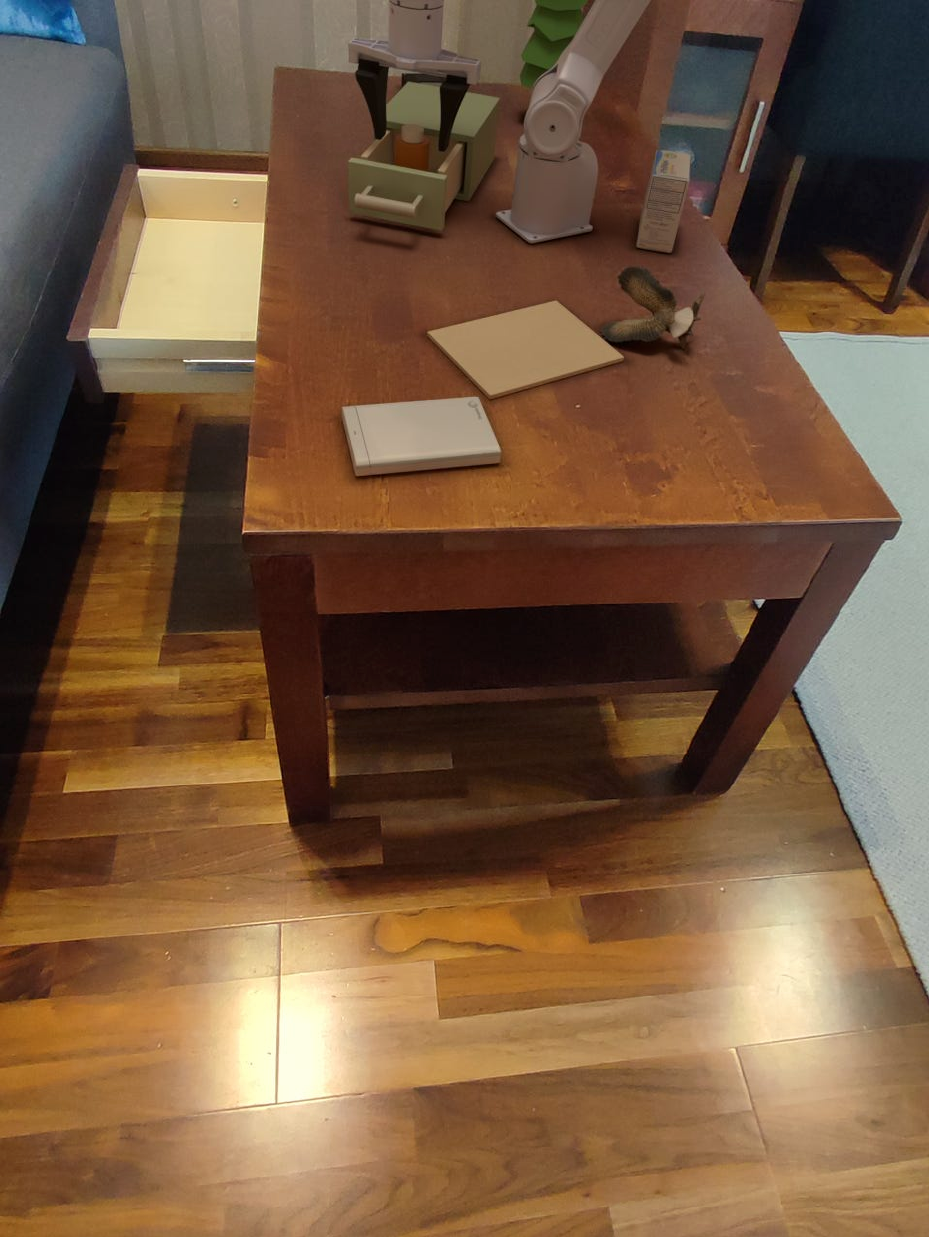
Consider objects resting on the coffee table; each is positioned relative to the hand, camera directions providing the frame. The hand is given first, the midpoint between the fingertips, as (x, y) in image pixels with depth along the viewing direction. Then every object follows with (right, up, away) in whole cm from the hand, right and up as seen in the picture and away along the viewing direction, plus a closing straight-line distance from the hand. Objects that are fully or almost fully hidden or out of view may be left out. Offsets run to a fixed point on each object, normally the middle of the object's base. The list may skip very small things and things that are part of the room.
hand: (411, 142), depth 97 cm
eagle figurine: (+25, -26, -10) cm, 38 cm away
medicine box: (+30, -9, +6) cm, 31 cm away
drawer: (-1, -6, +4) cm, 7 cm away
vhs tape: (+2, +22, +30) cm, 37 cm away
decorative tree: (+18, +20, +29) cm, 39 cm away
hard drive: (+2, -40, -24) cm, 47 cm away
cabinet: (+2, +4, +13) cm, 14 cm away
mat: (+12, -28, -13) cm, 34 cm away
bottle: (0, -3, +4) cm, 6 cm away
